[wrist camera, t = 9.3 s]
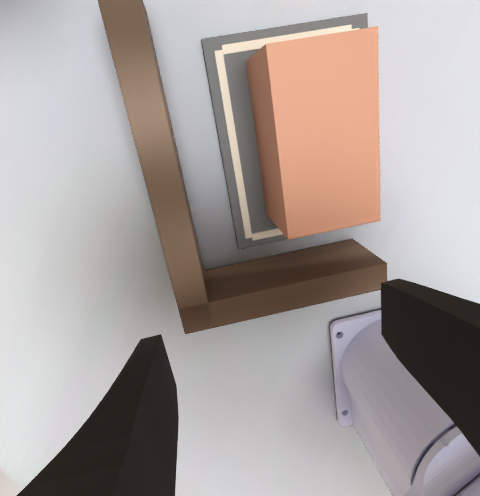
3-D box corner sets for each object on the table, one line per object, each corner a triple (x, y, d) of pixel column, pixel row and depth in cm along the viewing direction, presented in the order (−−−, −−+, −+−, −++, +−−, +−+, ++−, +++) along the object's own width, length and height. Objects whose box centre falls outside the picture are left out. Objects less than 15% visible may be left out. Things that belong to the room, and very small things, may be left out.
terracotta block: (332, 47, 18) (377, 26, 14) (340, 199, 21) (380, 220, 17) (245, 61, 18) (265, 44, 13) (266, 214, 20) (288, 239, 16)
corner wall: (353, 260, 23) (386, 288, 19) (184, 297, 22) (184, 334, 18) (340, -18, 17) (383, -54, 14) (114, 16, 16) (94, -14, 13)
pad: (370, 220, 22) (373, 221, 22) (238, 247, 21) (238, 250, 21) (364, 14, 18) (368, 12, 18) (201, 40, 17) (201, 38, 17)
